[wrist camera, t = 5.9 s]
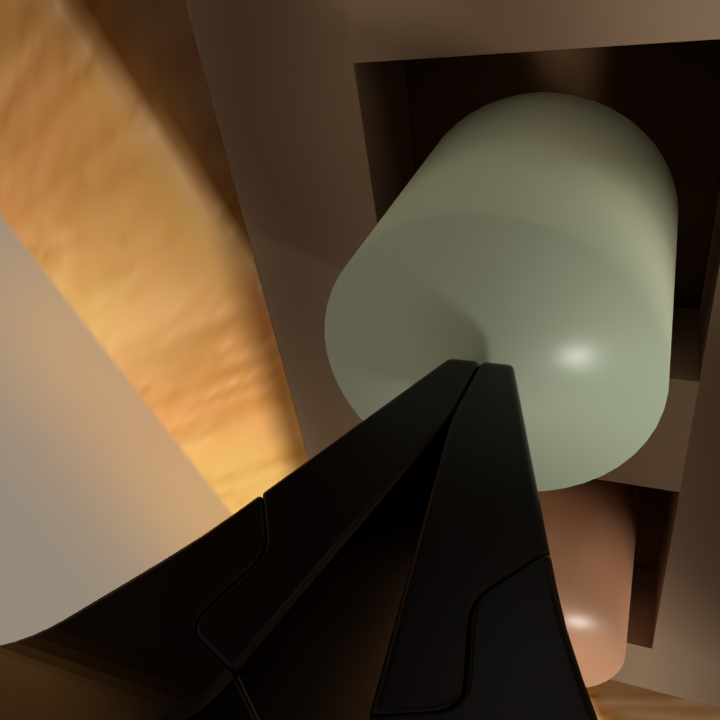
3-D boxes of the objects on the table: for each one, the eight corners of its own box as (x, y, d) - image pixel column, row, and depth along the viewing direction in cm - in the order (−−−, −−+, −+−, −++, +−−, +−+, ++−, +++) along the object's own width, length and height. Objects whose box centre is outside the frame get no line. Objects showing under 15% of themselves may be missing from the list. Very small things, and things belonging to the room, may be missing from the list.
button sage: (696, 85, 10) (693, 217, 7) (662, 338, 13) (650, 516, 10) (403, 98, 12) (294, 209, 9) (427, 319, 15) (351, 464, 11)
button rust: (646, 441, 17) (634, 593, 14) (631, 560, 19) (618, 709, 16) (462, 417, 19) (413, 546, 15) (471, 529, 21) (431, 658, 18)
